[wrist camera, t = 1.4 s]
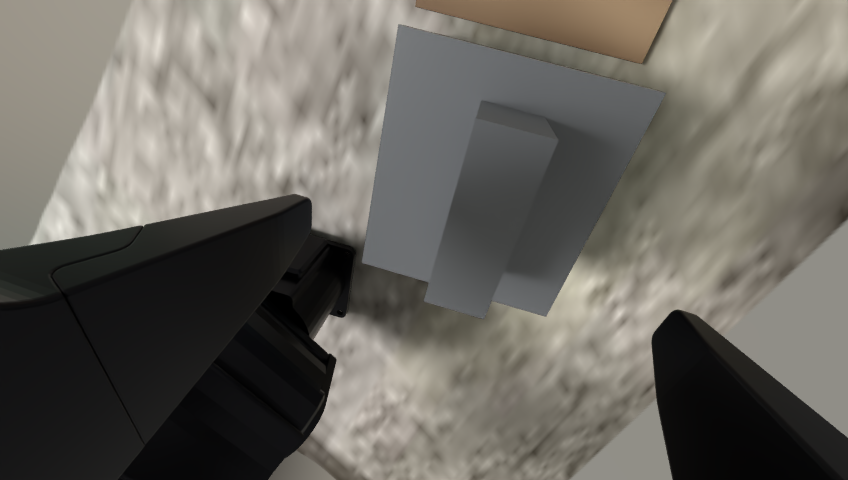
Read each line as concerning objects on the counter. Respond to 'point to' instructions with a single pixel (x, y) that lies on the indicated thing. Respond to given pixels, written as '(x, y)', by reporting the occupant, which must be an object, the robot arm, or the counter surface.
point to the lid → (495, 170)
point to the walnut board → (569, 21)
